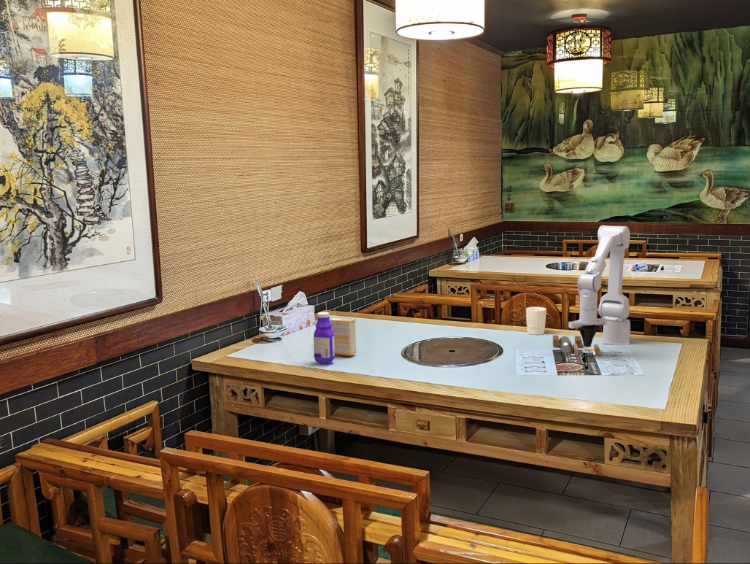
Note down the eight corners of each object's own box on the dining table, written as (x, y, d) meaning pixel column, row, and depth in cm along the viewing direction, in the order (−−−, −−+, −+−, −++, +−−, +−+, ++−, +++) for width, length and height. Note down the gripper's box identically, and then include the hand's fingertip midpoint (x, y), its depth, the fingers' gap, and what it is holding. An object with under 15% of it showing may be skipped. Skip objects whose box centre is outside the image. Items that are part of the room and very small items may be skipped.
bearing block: (580, 344, 251) (580, 336, 251) (581, 349, 245) (582, 340, 244) (552, 343, 254) (552, 335, 253) (553, 348, 247) (553, 339, 246)
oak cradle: (597, 351, 242) (597, 344, 241) (600, 357, 233) (600, 350, 232) (572, 350, 243) (572, 343, 243) (574, 356, 235) (574, 349, 234)
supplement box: (356, 352, 247) (355, 318, 245) (350, 356, 242) (349, 320, 240) (337, 350, 250) (335, 316, 248) (330, 354, 246) (329, 319, 244)
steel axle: (561, 348, 250) (557, 338, 249) (571, 344, 249) (567, 334, 249) (564, 356, 238) (560, 346, 238) (575, 352, 237) (571, 342, 237)
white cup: (547, 335, 267) (548, 310, 265) (527, 335, 267) (528, 310, 265) (543, 330, 275) (543, 306, 273) (524, 330, 275) (524, 306, 273)
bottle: (337, 359, 238) (335, 311, 235) (331, 364, 233) (329, 315, 230) (318, 358, 240) (316, 310, 238) (311, 362, 235) (310, 314, 232)
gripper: (598, 304, 238) (597, 341, 240) (563, 307, 233) (562, 345, 236) (611, 308, 231) (610, 346, 234) (575, 311, 227) (574, 350, 229)
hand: (587, 346), depth 234 cm, fingers closed
